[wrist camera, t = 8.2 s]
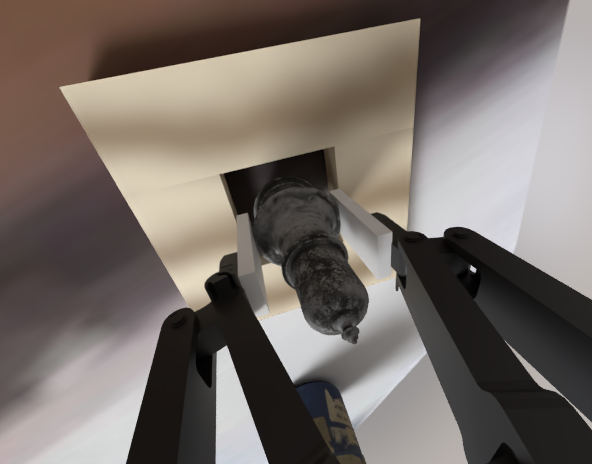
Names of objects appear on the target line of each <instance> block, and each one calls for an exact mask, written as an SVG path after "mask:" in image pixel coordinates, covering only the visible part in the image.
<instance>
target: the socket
mask: <svg viewBox="0 0 592 464" xmlns="http://www.w3.org/2000/svg"><path fill="white" fill-rule="evenodd" d="M419 33H420V18H419V19H414V20H408V21H403V22H398V23H393V24H387V25H382V26H377V27H372V28H366V29H361V30H356V31H351V32H346V33H340V34H335V35H330V36H325V37H319V38H314V39H309V40H304V41H298V42H293V43H288V44H283V45H277V46H272V47H267V48H262V49H257V50H251V51H246V52H241V53H236V54H230V55H225V56H220V57H215V58H209V59H204V60H199V61H194V62H188V63H183V64H178V65H173V66H167V67H162V68H157V69H152V70H147V71H141V72H136V73H131V74H126V75H120V76H115V77H110V78H105V79H99V80H94V81H89V82H84V83H78V84H73V85H68V86H63V87H59V88H60V89H61V91H62V93H63V95H64V96H65V98H66V100H67V101H68V103H69V105H70V106H71V108H72V110H73V111H74V113H75V115H76V116H77V118H78V120H79V122H80V123H81V125H82V127H83V128H84V130H85V132H86V133H87V135H88V137H89V138H90V140H91V142H92V144H93V145H94V147H95V149H96V150H97V152H98V154H99V155H100V157H101V159H102V160H103V162H104V164H105V166H106V167H107V169H108V171H109V172H110V174H111V176H112V177H113V179H114V181H115V182H116V184H117V186H118V188H119V189H120V191H121V193H122V194H123V196H124V198H125V199H126V201H127V203H128V204H129V206H130V208H131V210H132V211H133V213H134V215H135V216H136V218H137V220H138V221H139V223H140V225H141V226H142V228H143V230H144V232H145V233H146V235H147V237H148V238H149V240H150V242H151V243H152V245H153V247H154V248H155V250H156V252H157V254H158V255H159V257H160V259H161V260H162V262H163V264H164V265H165V267H166V269H167V270H168V272H169V274H170V276H171V277H172V279H173V281H174V282H175V284H176V286H177V287H178V289H179V291H180V292H181V294H182V296H183V297H184V299H185V301H186V303H187V304H188V306H189V308H191V309H192V310H193V311H194V312H195V311H197V310H199V309H201V308H203V307H204V306H206V305H207V304H209V303H210V302H211V299H210V297H209V296H208V294H207V292H206V290H205V288H204V284H205V282H206V280H207V279H208V278H209V277H210V276H211V275H213V274H215V273H217V272H219V265H220V261H221V259H222V258H223V256H224V255H228V254H231V253H235V252H237V215H238V214H237V211H236V208H235V205H234V202H233V199H232V196H231V193H230V190H229V187H228V184H227V182H226V179H225V176H224V173H227V172H231V171H235V170H239V169H243V168H247V167H251V166H255V165H260V164H264V163H268V162H272V161H276V160H280V159H284V158H288V157H292V156H297V155H301V154H305V153H309V152H313V151H317V150H321V149H324V155H325V163H326V172H327V180H328V189H329V191H332V190H336V189H340V190H342V191H343V192H344V193H345V194H347V195H348V196H349V197H350V198H351V199H353V200H354V201H355V202H356V203H358V204H359V205H360V206H361V207H362V208H364V209H365V210H366V211H367V212H369V213H370V214H372V213H375V212H378V213H381V214H384V215H386V216H387V217H388V218H390V219H391V220H393V221H394V223H397V224H398V225H399V226H401V227H402V228H403V229H405V230H406V231H407V221H408V205H409V190H410V174H411V158H412V143H413V127H414V111H415V96H416V80H417V64H418V48H419ZM329 197H330V195H329ZM338 238H339V239H340V240H341V241H342V242H343V243H344V245H345V247H346V249H347V251H348V257H349V258H348V263H349V265H350V266H351V268H352V269H353V270H354V272H355V273H356V275H357V276H358V277H359V279H360V280H361V282H362V283H363V284H364V286H365V287H367V286H370V285H374V284H377V283H380V282H383V281H386V280H390V279H393V278H396V271H395V270H394V269H393V268H392V267H391V276H389V277H386V278H383V279H380V280H377V278H376V277H375V276H374V275H373V273H372V272H371V271H370V270H369V269H368V267H367V266H366V265H365V264H364V262H363V261H362V260H361V259H360V257H359V256H358V255H357V254H356V252H355V251H354V250H353V249H352V248H351V246H350V245H349V244H348V243H347V241H346V240H345V239H344V238H343V236H342V235H341V234H340V233H339V235H338ZM259 254H260V252H259ZM260 259H261V265H262V271H263V277H264V283H265V289H266V295H267V301H268V307H269V312H270V314H268V315H264V316H261V317H258V318H257V319H258V320H262V319H265V318H268V317H271V316H274V315H278V314H281V313H284V312H287V311H290V310H294V309H297V308H300V307H301V305H300V302H299V299H298V296H297V293H296V290H294V289H293V288H291V287H290V286H289V285H288V284H287V283H286V282H285V280H284V278H283V275H282V267H281V266H278V265H276V264H273V263H271V262H269V261H268V260H267V259H265V258H264V257H263V256H262V255H261V254H260Z"/></svg>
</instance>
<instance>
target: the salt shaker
mask: <svg viewBox="0 0 592 464" xmlns="http://www.w3.org/2000/svg"><path fill="white" fill-rule="evenodd" d="M253 209H254V218H255V219H254V224H253V228H252V229H253V238H254V241H255V244H256V247H257V250H258V251H259V252H260V254H261V255H262V256H263V257H264V258H265V259H267V260H268V261H269V262H271V263H273V264H276V265H278V266H281V267H282V275H283V278H284V280H285V282H286V283H287V284H288V285H289V286H290V287H291V288H293V289H294V290H296V293H297V296H298V299H299V302H300V305H301V309H302V312H303V315H304V318H305V320H306V321H307V323H308V324H309V325H310V326H311V328H313V329H314V330H316V331H318V332H320V333H322V334H325V335H338V334H342V335H341V336H342V339H344V340H347V341H348V342H350V343H353V344H356V343H357V339H358V334H359V328H357V327H356V326H357V325H358V324H359V323H360V322H361V321H362V320H363V318H364V317H365V315H366V313H367V308H368V303H369V298H368V293H367V290H366V288H365V286H364V284H363V283H362V282H361V280H360V279H359V277H358V276H357V275H356V273H355V272H354V270H353V269H352V268H351V266H350V265H349V263H348V258H349V257H348V251H347V249H346V247H345V245H344V243H343V242H342V241H341V240H340V239H339V238H338V235H339V233H340V227H341V220H340V212H339V210H338V208H337V206H336V204H335V202H334V201H333V200H332V199H331V198H330V197H329V196H328V195H327V194H326V193H324V192H322V191H320V190H318V189H316V188H314V187H313V186H312V185H311V184H310V183H309V182H308V181H306V180H304V179H302V178H299V177H295V176H283V177H280V178H276V179H274V180H272V181H270V182H269V183H267V184H266V185H265V186H264V187H263V188H262V189H261V190H260V191H259V193H258V195H257V197H256V199H255V203H254V207H253Z"/></svg>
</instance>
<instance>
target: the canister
mask: <svg viewBox="0 0 592 464" xmlns="http://www.w3.org/2000/svg"><path fill="white" fill-rule="evenodd" d="M296 390H297V391H298V393H299V395H300V397H301V399H302V400H303V402H304V404H305V406H306V408H307V409H308V411H309V413H310V415H311V417H312V418H313V420H314V422H315V424H316V426H317V427H318V429H319V431H320V433H321V435H322V436H323V438H324V440H325V442H326V443H327V445H328V447H329V448H330V450H331V451H332V452H333V453H334V454H335V456H336V458H337V459H338V461H339V462H340V464H366V462H365V458H364V456H363V455H362V453H361V450H360V447H359V444H358V441H357V438H356V436H355V432H354V429H353V427H352V424H351V422H350V419H349V416H348V413H347V410H346V408H345V405H344V402H343V399H342V397H341V394H340V392H339V390H338V389H337V388H336V387H335V386H333V385H332V384H329V383H325V382H313V383H308V384H305V385H302V386H299V387H297V388H296Z"/></svg>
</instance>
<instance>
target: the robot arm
mask: <svg viewBox="0 0 592 464" xmlns="http://www.w3.org/2000/svg"><path fill="white" fill-rule="evenodd" d="M329 195H330V198H331V199H332V200H333V201H334V202H335V204H336V206H337V208H338V210H339V212H340V220H341V227H340V234H341V235H342V236H343V238H344V239H345V240H346V241H347V243H348V244H349V245H350V246H351V248H352V249H353V250H354V251H355V252H356V254H357V255H358V256H359V257H360V259H361V260H362V261H363V262H364V264H365V265H366V266H367V267H368V269H369V270H370V271H371V272H372V273H373V275H374V276H375V277H376V278H377V280H380V279H383V278H386V277H389V276H391V267H392V268H393V269H394V270H395V271H396V291H398V287H400V290H401V292H402V294H403V297H404V299H405V301H406V304H407V306H408V308H409V311H410V313H411V315H412V318H413V320H414V323H415V325H416V327H417V330H418V332H419V334H420V337H421V339H422V341H423V344H424V346H425V348H426V351H427V353H428V355H429V358H430V360H431V362H432V365H433V367H434V370H435V372H436V374H437V377H438V379H439V381H440V384H441V386H442V388H443V391H444V393H445V395H446V398H447V400H448V403H449V405H450V407H451V409H452V412H453V414H454V417H455V419H456V421H457V424H458V426H459V429H460V431H461V435H462V439H463V446H464V451H465V455H466V459H467V462H468V464H592V430H591V428H590V427H589V426H588V425H587V423H586V422H585V421H584V420H583V419H582V417H581V416H580V415H579V414H578V412H577V411H576V410H575V409H574V408H573V406H572V405H571V404H569V402H568V401H567V400H566V399H565V398H564V397H562V396H561V395H559V394H558V393H556V392H554V391H550V390H546V389H543V388H542V387H540V386H539V385H538V384H537V383H536V382H535V381H534V380H533V378H532V377H531V376H530V374H529V373H528V372H527V370H526V369H525V368H524V366H523V365H522V364H521V362H520V361H519V360H518V358H517V357H516V355H515V354H514V353H513V352H512V350H511V349H510V347H509V346H508V345H507V343H508V344H509V345H510V346H511V347H512V348H514V349H515V350H516V351H517V352H518V353H519V354H520V355H521V356H522V357H523V358H524V359H525V360H526V361H527V362H528V363H529V364H531V365H532V366H533V367H534V368H535V369H536V370H537V371H538V372H539V373H540V374H541V375H542V376H543V377H544V378H545V379H546V380H548V381H549V382H550V383H551V384H552V385H553V386H554V387H555V388H556V389H557V390H558V391H559V392H560V393H561V394H563V396H565V397H566V398H567V399H568V400H569V401H570V402H571V403H572V404H573V405H574V406H575V407H576V408H577V409H578V410H580V412H582V413H583V414H584V415H585V416H586V417H587V418H588V419H589V420H590V421H591V422H592V300H591V299H589V298H588V297H586V296H584V295H582V294H581V293H579V292H577V291H576V290H574V289H572V288H570V287H569V286H567V285H565V284H564V283H562V282H560V281H558V280H557V279H555V278H553V277H551V276H550V275H548V274H546V273H545V272H543V271H541V270H540V269H538V268H536V267H534V266H533V265H531V264H529V263H527V262H526V261H524V260H522V259H521V258H519V257H517V256H515V255H514V254H512V253H510V252H509V251H507V250H505V249H504V248H502V247H500V246H498V245H497V244H495V243H493V242H492V241H490V240H488V239H486V238H485V237H483V236H481V235H480V234H478V233H476V232H475V231H473V230H470V229H467V228H463V227H452V228H449V229H446V230H445V232H444V236H443V237H439V238H427V237H426V236H425V235H424V234H422V233H419V232H414V231H408V232H407V231H406V230H405V229H403V228H402V227H401V226H399V225H398V224H397V223H394V221H393V220H391V219H390V218H388V217H387V216H386V215H384V214H381V213H378V212H375V213H372V214H370V213H369V212H367V211H366V210H365V209H364V208H362V207H361V206H360V205H359V204H358V203H356V202H355V201H354V200H353V199H351V198H350V197H349V196H348V195H347V194H345V193H344V192H343V191H342V190H340V189H336V190H332V191H329ZM471 265H472V266H473V267H474V268H476V269H477V270H476V273H474V272H472V271H471V270H470V267H471ZM204 288H205V290H206V292H207V294H208V296H209V297H210V299H211V302H210V303H209V304H207V305H206V306H204V307H203V308H201V309H199V310H197V311H195V312H194V311H193V310H192V309H191V308H182V309H179V310H177V311H175V312H173V313H172V314H171V315H169V316H168V317H167V318H166V319H165V321H164V323H163V325H162V327H161V331H160V335H159V339H158V343H157V347H156V350H155V354H154V358H153V362H152V366H151V370H150V373H149V377H148V381H147V385H146V389H145V393H144V396H143V400H142V404H141V408H140V412H139V416H138V419H137V423H136V427H135V431H134V435H133V439H132V442H131V446H130V450H129V454H128V458H127V462H126V464H215V455H216V356H217V351H219V350H220V349H222V348H223V347H225V346H226V345H227V347H228V349H229V352H230V355H231V358H232V361H233V364H234V366H235V369H236V372H237V375H238V378H239V381H240V383H241V386H242V389H243V392H244V395H245V398H246V400H247V403H248V406H249V409H250V412H251V415H252V417H253V420H254V423H255V426H256V429H257V431H258V434H259V437H260V440H261V443H262V446H263V448H264V451H265V454H266V457H267V460H268V463H269V464H340V462H339V461H338V459H337V458H336V456H335V454H334V453H333V452H332V451H331V450H330V448H329V447H328V445H327V443H326V442H325V440H324V438H323V436H322V435H321V433H320V431H319V429H318V427H317V426H316V424H315V422H314V420H313V418H312V417H311V415H310V413H309V411H308V409H307V408H306V406H305V404H304V402H303V400H302V399H301V397H300V395H299V393H298V391H297V390H296V388H295V386H294V384H293V382H292V380H291V379H290V377H289V375H288V373H287V371H286V370H285V368H284V366H283V364H282V362H281V361H280V359H279V357H278V355H277V353H276V352H275V350H274V348H273V346H272V344H271V343H270V341H269V339H268V337H267V335H266V334H265V332H264V330H263V328H262V326H261V325H260V323H259V321H258V319H257V318H258V317H261V316H264V315H268V314H270V312H269V307H268V301H267V295H266V289H265V283H264V277H263V271H262V265H261V259H260V254H259V251H258V250H257V247H256V244H255V241H254V238H253V229H252V225H251V222H250V219H249V215H248V213H245V214H241V215H237V252H235V253H231V254H228V255H224V256H223V258H222V259H221V261H220V265H219V272H217V273H215V274H213V275H211V276H210V277H209V278H208V279H207V280H206V282H205V284H204ZM504 340H505V341H506V342H507V343H506V342H505V341H504Z"/></svg>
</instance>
